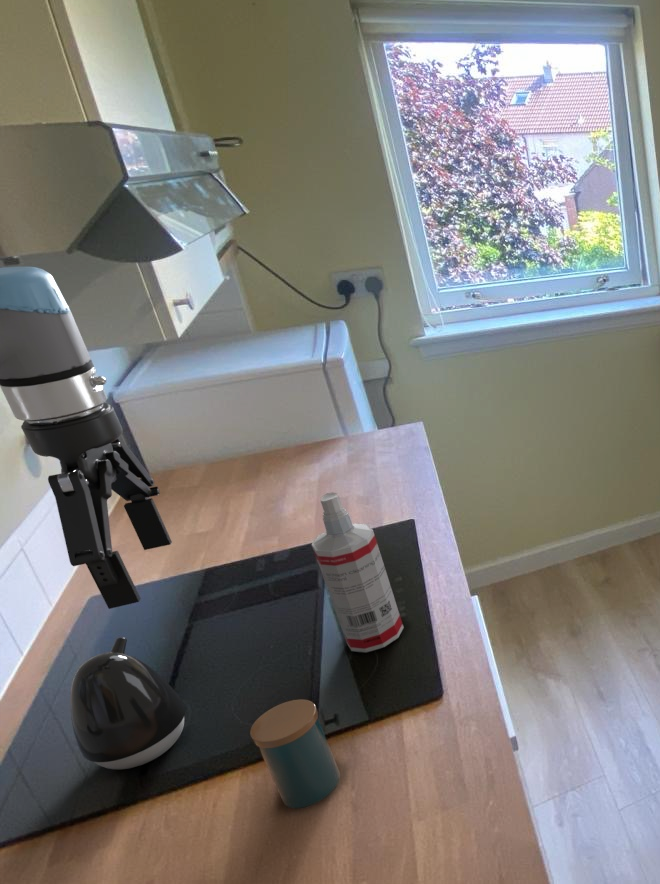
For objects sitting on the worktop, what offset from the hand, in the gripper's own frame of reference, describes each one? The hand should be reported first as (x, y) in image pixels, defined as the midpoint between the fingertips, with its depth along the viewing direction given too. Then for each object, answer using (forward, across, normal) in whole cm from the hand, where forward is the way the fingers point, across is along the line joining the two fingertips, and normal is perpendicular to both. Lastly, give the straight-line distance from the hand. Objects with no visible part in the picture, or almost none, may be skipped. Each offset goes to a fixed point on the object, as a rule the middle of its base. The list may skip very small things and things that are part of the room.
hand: (142, 573), depth 89 cm
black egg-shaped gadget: (+24, -2, +7) cm, 25 cm away
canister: (+24, -19, -13) cm, 33 cm away
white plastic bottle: (+24, +9, -19) cm, 32 cm away
